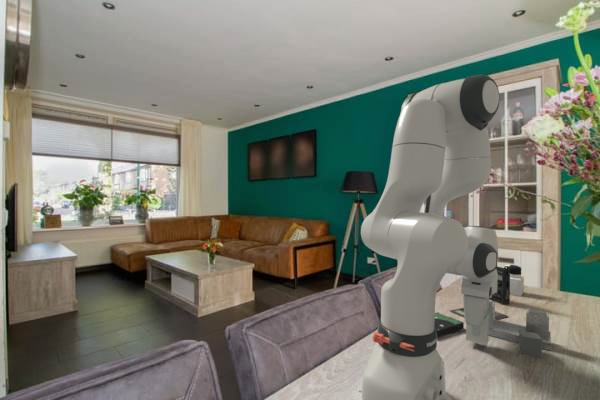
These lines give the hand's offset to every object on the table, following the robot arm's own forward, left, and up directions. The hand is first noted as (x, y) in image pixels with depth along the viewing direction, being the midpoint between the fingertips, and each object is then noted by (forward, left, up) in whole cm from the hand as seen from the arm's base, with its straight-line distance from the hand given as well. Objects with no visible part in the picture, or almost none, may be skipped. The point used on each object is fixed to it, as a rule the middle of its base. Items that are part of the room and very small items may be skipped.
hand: (477, 331), depth 85 cm
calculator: (+27, +3, -5) cm, 27 cm away
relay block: (+5, -12, -4) cm, 13 cm away
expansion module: (0, 0, -2) cm, 2 cm away
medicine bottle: (+64, -5, -4) cm, 64 cm away
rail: (+13, -7, -4) cm, 15 cm away
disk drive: (+5, +13, -5) cm, 14 cm away
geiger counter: (+47, 0, -4) cm, 47 cm away
